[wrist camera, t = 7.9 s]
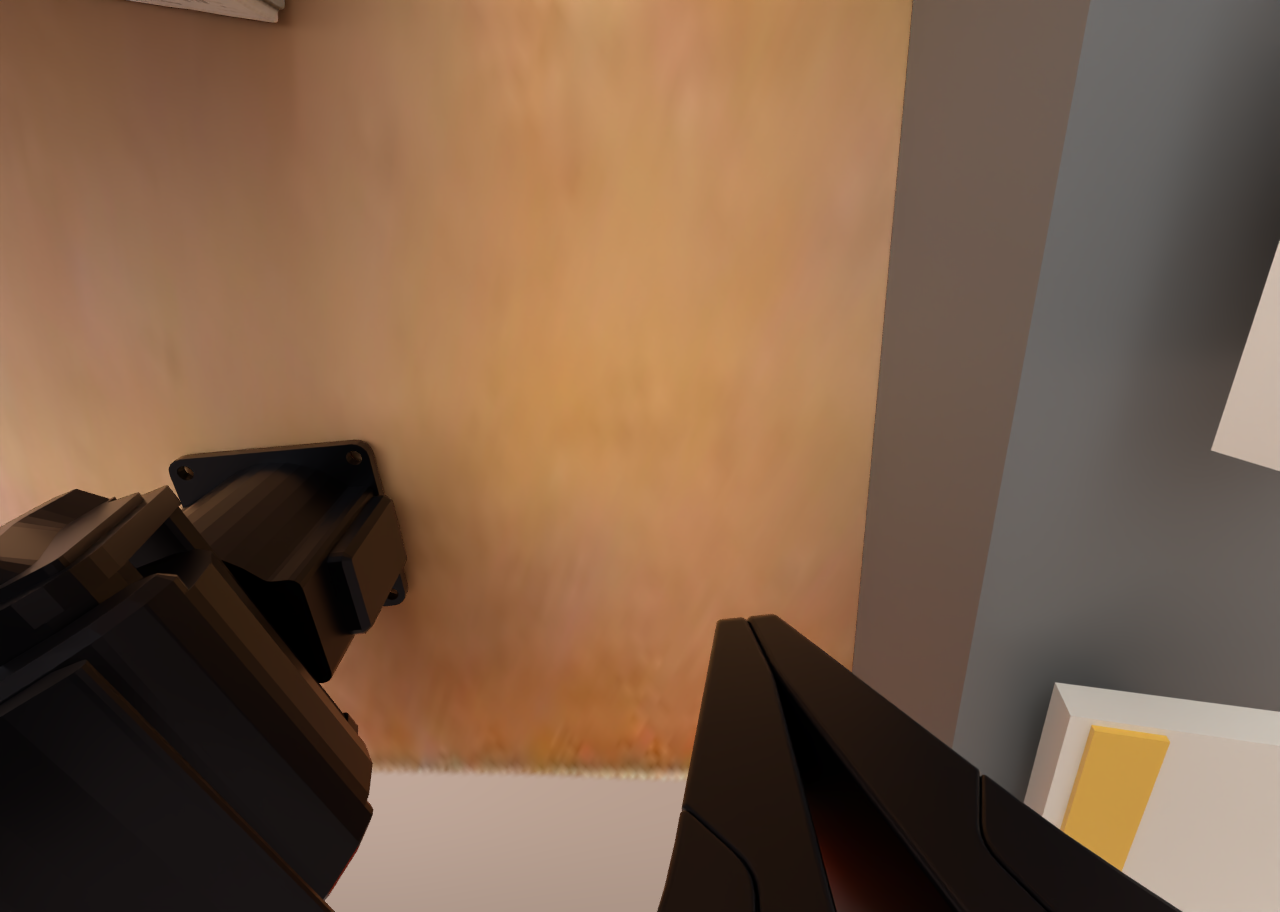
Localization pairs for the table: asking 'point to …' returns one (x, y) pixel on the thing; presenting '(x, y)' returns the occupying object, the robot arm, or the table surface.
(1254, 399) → the rocker grey
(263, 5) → the hard drive box
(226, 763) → the robot arm
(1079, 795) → the rocker amber
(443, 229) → the table surface
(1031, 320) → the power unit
